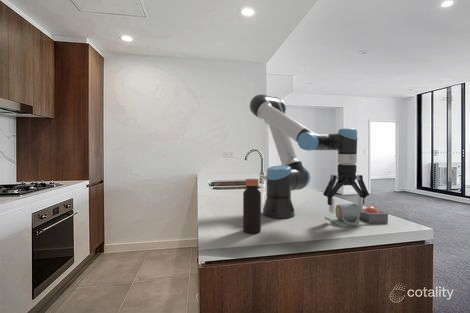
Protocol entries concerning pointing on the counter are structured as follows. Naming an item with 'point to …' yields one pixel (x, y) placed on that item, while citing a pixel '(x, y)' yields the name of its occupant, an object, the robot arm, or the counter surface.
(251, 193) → the bottle
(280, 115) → the robot arm
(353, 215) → the ceramic mug
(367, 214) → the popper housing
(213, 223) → the counter surface
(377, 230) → the counter surface
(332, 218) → the sage square
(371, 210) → the red dome
